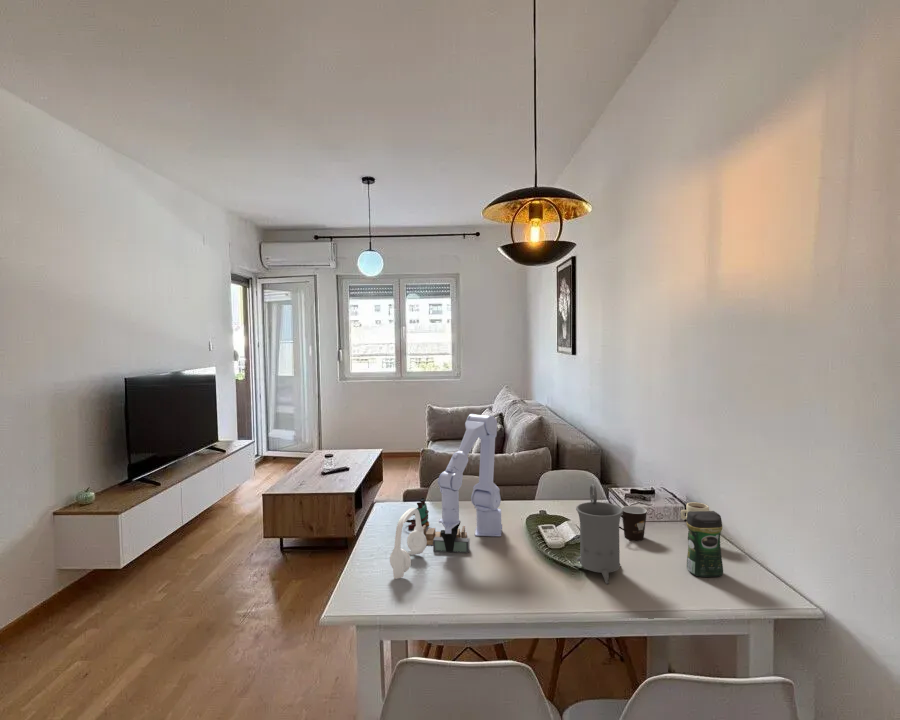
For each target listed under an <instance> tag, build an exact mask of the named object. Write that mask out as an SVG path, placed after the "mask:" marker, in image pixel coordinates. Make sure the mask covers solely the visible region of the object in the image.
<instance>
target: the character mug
mask: <svg viewBox="0 0 900 720" xmlns="http://www.w3.org/2000/svg"><path fill="white" fill-rule="evenodd" d="M685 508H686V509H681V510H680V519H681V520H686V521H687V513H688V512H689V511H710V507H709V505H707V504H705V503H701V502H695V501H693V502H692V501H691V502H688V503H686V506H685ZM684 514H685V515H684ZM687 540H688V541H689V530H688V533H687Z"/></svg>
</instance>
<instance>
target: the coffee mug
mask: <svg viewBox="0 0 900 720" xmlns="http://www.w3.org/2000/svg"><path fill="white" fill-rule="evenodd" d="M620 508H621V509H622V510H623V513H622V515H621V517H620V518H622V526H623V527H622V526H620V525H619V530H620V529H621V530H622V531H623V535H624V538H625V539H626V540H629V541H633V542H639V541H640V542H641V541H643V540H644V538H645V531H646V524H647V523H646V522H647V514H648V510H647V509H646V508H644V507H641V506H637V505H627V506H622V507H620Z"/></svg>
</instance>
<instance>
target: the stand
mask: <svg viewBox="0 0 900 720" xmlns="http://www.w3.org/2000/svg"><path fill="white" fill-rule="evenodd" d="M423 529H424V535H425V537H426V540H427V545H428V546H431V545H432V546H433V539H434V538H435V537H442V536H441V534H440V532H441V531H436V527H429V528H428V529H427V526H426V525H423ZM457 532H458V533H457V537H456V538H468V537H467V535H468V534H467V532H466V526H464V525H463V526H462V528H461V529H460V528H458V531H457ZM427 545H426V546H427Z"/></svg>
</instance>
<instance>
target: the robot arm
mask: <svg viewBox="0 0 900 720" xmlns="http://www.w3.org/2000/svg"><path fill="white" fill-rule="evenodd" d="M464 426H465V432H464V435H463V437H462V440H461V442H460V444H459V445H460V446H459V448H458V451H455V452H454V453H452V456H451V458H450V460H449V462H448V464H447V465H446V468H445V470H444V471H442V472H441V473H440V474H439V476H438V479H437V485H438V487H439V492H440V494H441V518H440V519H438V523H439V524H441V525H442V526H443V527H444V529H440V531H439V532H440V534H441V536H442V538H443V540H444V543H445V548H446V551H447V552H446V553H454V552H453V549H454V542H455V538H456V537H457V533H458V532H457V531H458V529H459V527H460V525H461V520H460V503H459V501H460V498H459V494H460V493H459V489H460V488H461V487H462V485H463V477H464V474H463V473H464V471H465V469H466V467H467V465H468V462H469V457H468V455H469V453H470V451H471V450H472V448H473V446H474V444H475V442H476V441H477V439H480V454H479V469H478V470H479V474H478V476H479V477H478V482H477V483H476V484H474V485H473V487H472V489H473V490H472V492H471V496H470V500H471V504H472V505H473V506H474V509H475V510H476V511H475V512H476V518H475V519H476V527H475V533H474V536H475V537H477V536H478V537H502V530H503V523H502V508H499V507H500V505H501V502H502V501H501V497H502V496H501V494H500V490H501V489H500V488H499V486H497V484H496V483H495V482H494V473H495V472H494V471H495V470H494V469H495V451H496V450H495V449H496V438H497V432H498V421H497V419H496V417H495V416H494V415H484V414H475V413H469V415H468V416H467V418H466V420H465V423H464Z"/></svg>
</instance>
